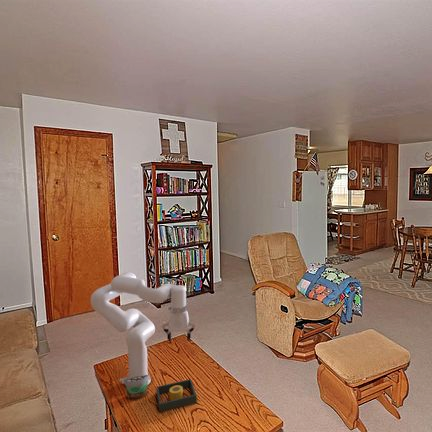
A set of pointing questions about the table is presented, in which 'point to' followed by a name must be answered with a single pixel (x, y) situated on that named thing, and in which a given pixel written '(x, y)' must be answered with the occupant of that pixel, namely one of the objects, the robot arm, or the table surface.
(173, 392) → the tape roll
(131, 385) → the food container
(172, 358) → the table surface
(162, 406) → the dark green rectangular frame
